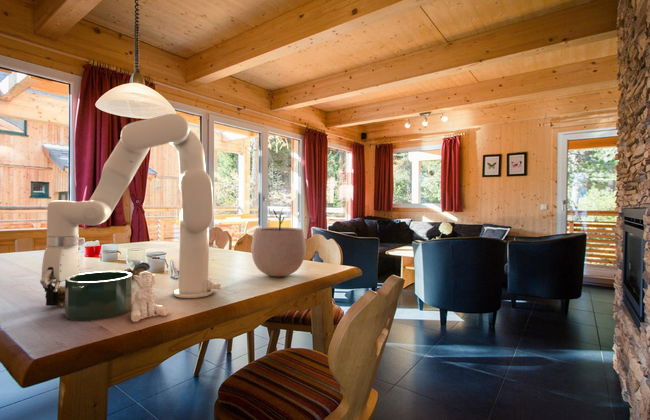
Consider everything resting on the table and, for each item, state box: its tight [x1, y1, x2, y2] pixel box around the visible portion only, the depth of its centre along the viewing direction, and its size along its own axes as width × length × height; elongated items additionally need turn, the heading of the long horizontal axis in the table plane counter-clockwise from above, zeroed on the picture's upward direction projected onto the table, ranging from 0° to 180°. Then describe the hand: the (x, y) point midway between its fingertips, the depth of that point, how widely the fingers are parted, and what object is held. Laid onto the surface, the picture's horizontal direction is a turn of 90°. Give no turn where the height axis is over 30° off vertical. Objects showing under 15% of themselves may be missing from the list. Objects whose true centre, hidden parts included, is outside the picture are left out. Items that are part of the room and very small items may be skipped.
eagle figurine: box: [123, 262, 151, 281], centre depth 141 cm, size 8×7×9 cm
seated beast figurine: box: [130, 271, 169, 323], centre depth 96 cm, size 10×9×12 cm
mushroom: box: [45, 285, 65, 308], centre depth 104 cm, size 8×8×6 cm
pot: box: [64, 270, 133, 321], centre depth 99 cm, size 16×21×10 cm
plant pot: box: [251, 208, 307, 278], centre depth 155 cm, size 24×24×30 cm
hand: (61, 301), depth 104 cm, fingers closed on mushroom, 7 cm apart
